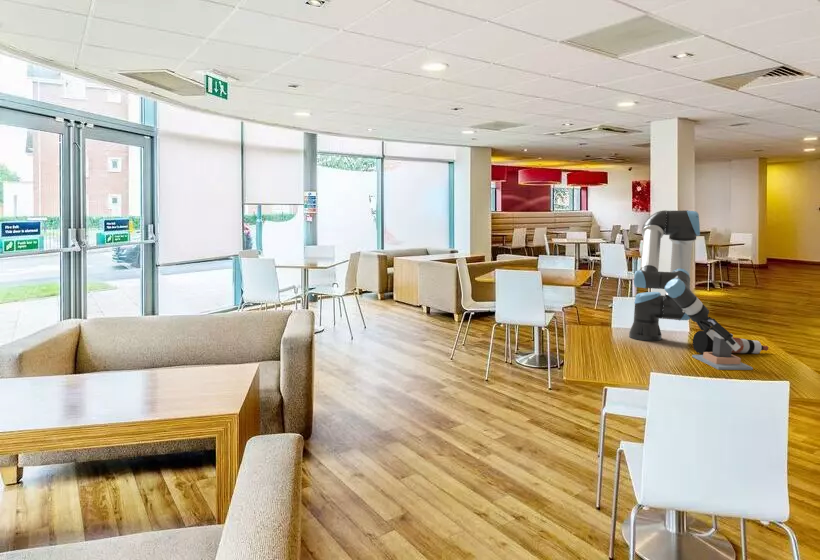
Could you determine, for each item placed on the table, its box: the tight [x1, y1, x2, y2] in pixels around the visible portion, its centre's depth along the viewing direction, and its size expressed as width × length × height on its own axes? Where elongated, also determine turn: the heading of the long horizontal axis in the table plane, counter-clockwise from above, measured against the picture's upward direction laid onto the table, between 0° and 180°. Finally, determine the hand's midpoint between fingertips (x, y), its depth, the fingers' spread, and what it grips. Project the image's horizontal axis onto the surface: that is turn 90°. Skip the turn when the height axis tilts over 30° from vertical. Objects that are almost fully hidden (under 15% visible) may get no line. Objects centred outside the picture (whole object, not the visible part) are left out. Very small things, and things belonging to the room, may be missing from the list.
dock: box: [692, 352, 754, 371], centre depth 232 cm, size 20×14×4 cm
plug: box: [712, 331, 734, 357], centre depth 231 cm, size 5×5×12 cm
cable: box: [692, 330, 769, 355], centre depth 249 cm, size 10×34×10 cm
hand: (728, 345), depth 231 cm, fingers open, 13 cm apart
